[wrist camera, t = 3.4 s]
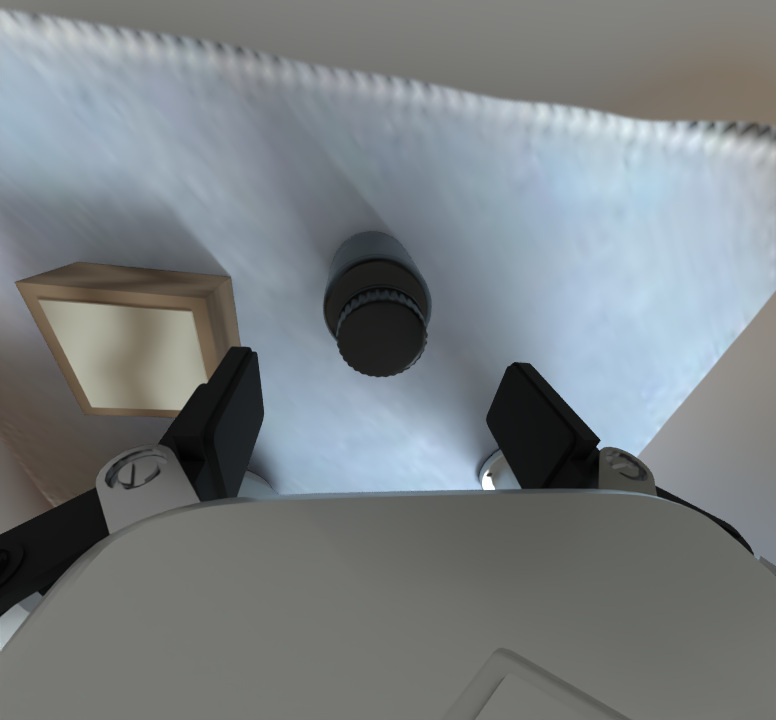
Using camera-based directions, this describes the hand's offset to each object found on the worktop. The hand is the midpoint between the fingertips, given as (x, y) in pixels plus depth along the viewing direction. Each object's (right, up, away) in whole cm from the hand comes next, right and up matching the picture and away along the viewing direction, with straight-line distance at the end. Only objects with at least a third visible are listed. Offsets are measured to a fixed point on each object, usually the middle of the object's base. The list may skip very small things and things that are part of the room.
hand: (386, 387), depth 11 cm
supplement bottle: (-1, +9, +14) cm, 17 cm away
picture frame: (-19, +4, +15) cm, 25 cm away
